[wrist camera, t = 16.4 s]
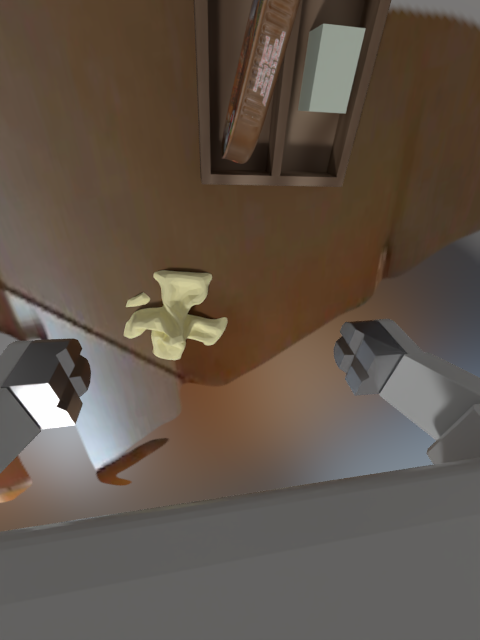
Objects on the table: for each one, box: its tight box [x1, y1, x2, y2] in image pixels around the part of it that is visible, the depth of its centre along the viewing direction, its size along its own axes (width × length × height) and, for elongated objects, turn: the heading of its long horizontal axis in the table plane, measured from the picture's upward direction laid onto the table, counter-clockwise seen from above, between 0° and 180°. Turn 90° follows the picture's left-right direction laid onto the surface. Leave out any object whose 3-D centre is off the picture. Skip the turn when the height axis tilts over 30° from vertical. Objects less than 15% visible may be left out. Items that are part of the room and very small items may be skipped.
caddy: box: [194, 0, 391, 187], centre depth 26 cm, size 17×20×4 cm
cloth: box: [124, 270, 228, 360], centre depth 44 cm, size 22×19×6 cm
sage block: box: [298, 24, 366, 114], centre depth 27 cm, size 4×6×4 cm, turn 177°
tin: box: [221, 0, 300, 164], centre depth 23 cm, size 15×3×8 cm, turn 163°
